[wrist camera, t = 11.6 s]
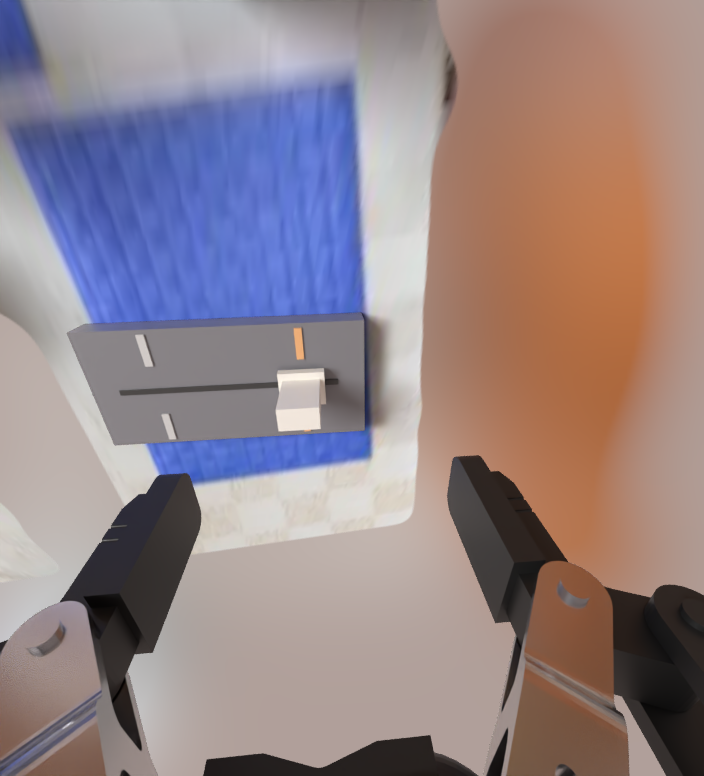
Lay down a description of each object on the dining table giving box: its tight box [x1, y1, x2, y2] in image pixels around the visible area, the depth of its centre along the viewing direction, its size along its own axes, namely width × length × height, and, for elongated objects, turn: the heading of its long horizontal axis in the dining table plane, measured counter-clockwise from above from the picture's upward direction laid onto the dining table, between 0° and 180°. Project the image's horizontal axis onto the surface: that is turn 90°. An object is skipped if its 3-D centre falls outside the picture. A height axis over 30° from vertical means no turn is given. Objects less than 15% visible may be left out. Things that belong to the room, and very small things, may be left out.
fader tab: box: [276, 368, 326, 431], centre depth 35 cm, size 4×5×7 cm
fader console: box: [67, 313, 365, 445], centre depth 40 cm, size 14×30×3 cm, turn 91°
